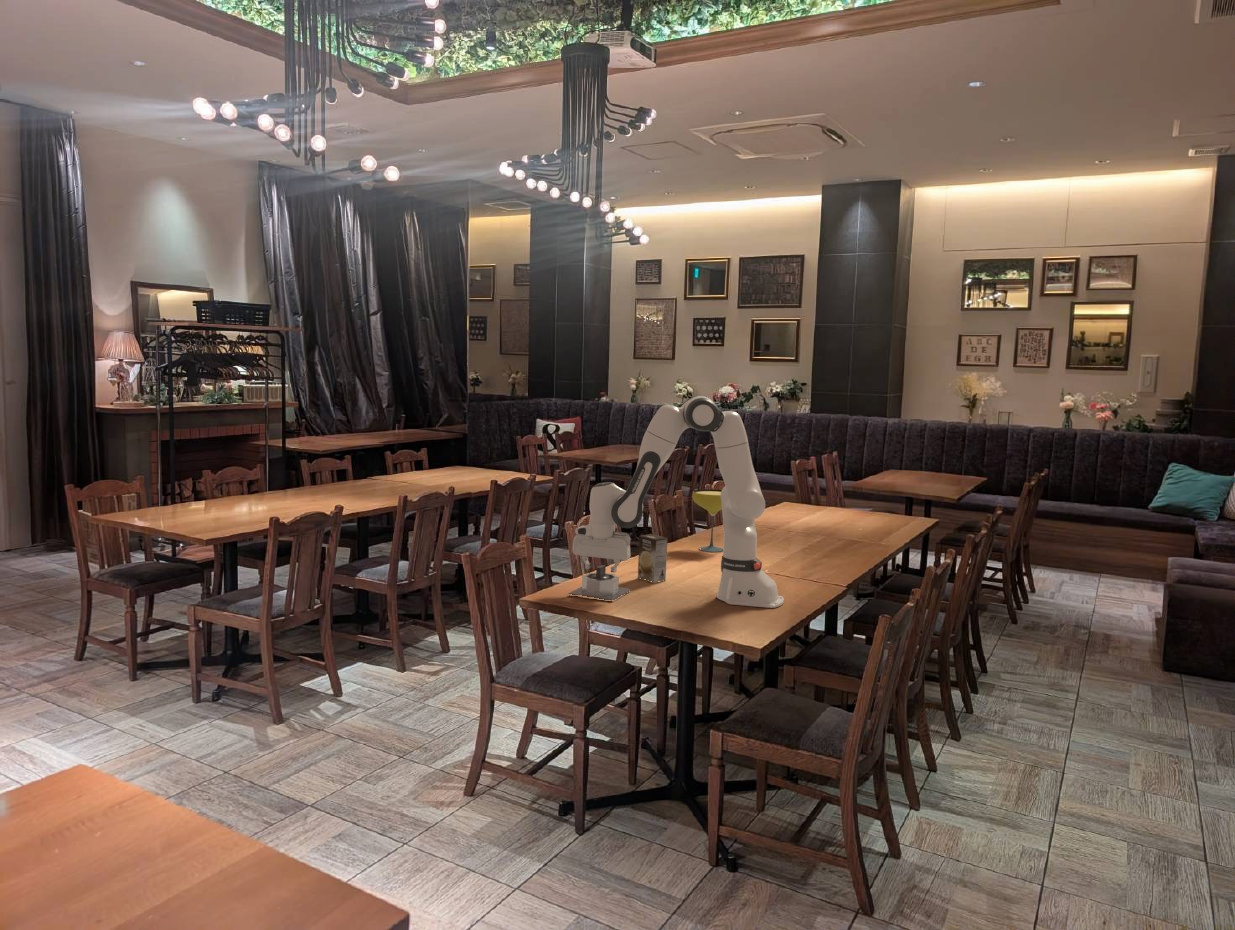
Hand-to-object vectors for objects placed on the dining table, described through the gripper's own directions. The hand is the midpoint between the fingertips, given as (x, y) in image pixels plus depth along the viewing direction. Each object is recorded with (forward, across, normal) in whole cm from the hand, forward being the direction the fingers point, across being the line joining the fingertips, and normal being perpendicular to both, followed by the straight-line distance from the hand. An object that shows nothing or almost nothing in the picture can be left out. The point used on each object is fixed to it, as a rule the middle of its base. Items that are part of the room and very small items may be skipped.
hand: (600, 570), depth 296 cm
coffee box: (+8, -8, -28) cm, 30 cm away
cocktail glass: (+8, -11, -92) cm, 93 cm away
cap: (+4, 0, 0) cm, 4 cm away
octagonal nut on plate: (+8, 0, 0) cm, 8 cm away
